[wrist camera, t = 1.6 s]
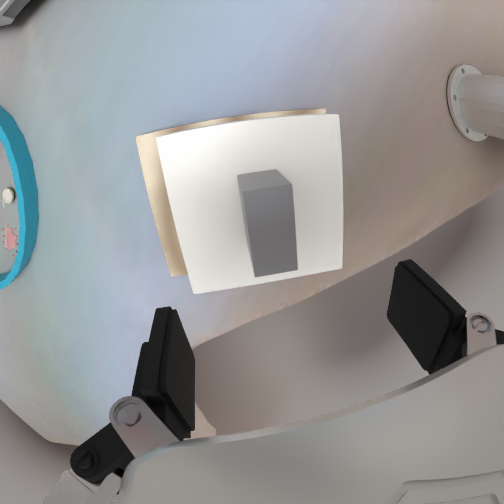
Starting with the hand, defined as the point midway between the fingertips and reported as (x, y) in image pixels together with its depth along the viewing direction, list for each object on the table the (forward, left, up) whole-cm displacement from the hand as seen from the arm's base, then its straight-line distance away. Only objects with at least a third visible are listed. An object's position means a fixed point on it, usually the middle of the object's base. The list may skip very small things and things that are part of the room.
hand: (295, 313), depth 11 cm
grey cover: (0, 0, -21) cm, 21 cm away
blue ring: (+42, -9, -23) cm, 48 cm away
